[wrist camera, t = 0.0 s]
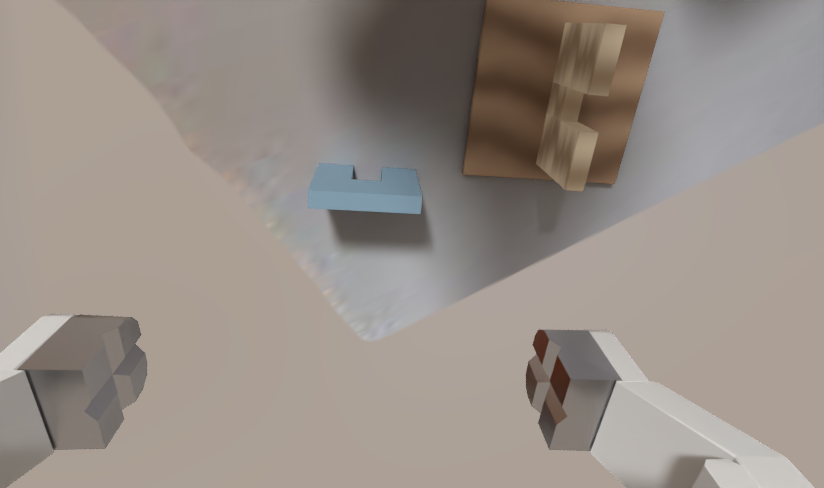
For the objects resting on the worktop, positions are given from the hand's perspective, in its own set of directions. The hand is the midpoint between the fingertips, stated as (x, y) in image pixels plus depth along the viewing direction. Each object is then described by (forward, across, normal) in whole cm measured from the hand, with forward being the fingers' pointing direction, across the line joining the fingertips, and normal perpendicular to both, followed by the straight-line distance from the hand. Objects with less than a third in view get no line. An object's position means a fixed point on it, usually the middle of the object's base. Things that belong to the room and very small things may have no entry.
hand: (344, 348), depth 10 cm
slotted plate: (+48, 0, +11) cm, 49 cm away
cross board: (+48, -22, 0) cm, 53 cm away
